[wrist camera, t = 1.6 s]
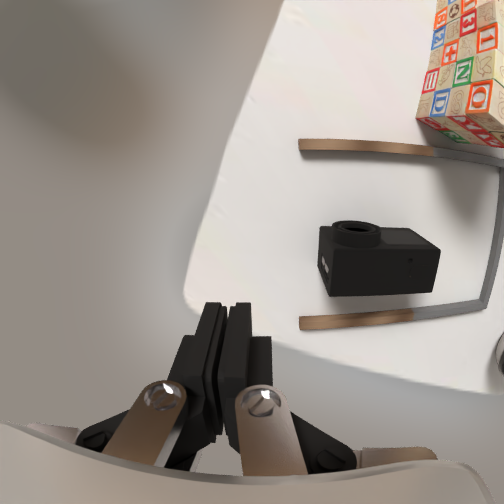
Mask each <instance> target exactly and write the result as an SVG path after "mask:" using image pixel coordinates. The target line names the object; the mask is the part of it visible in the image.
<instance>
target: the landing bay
mask: <svg viewBox="0 0 504 504" xmlns="http://www.w3.org/2000/svg"><path fill="white" fill-rule="evenodd" d="M433 157H442V158H449V159H456V160H463V161H470V162H476V163H482V164H487V165H493V166H498V167H500V181H499V195H498V205H497V214H496V222H495V229H494V235H493V241H492V247H491V252H490V257H489V262H488V266H487V271H486V275H485V279H484V283H483V287H482V291H481V294H480V298H479V299H477V300H471V301H464V302H457V303H450V304H443V305H435V306H427V307H418V308H411V310H412V311H413V312H414V317H413V320H420V319H427V318H434V317H441V316H448V315H454V314H460V313H466V312H471V311H477V310H482V309H486V308H487V305H488V301H489V298H490V295H491V291H492V287H493V284H494V280H495V276H496V272H497V267H498V263H499V258H500V254H501V249H502V243H503V238H504V159H500V158H495V157H490V156H485V155H480V154H475V153H469V152H464V151H458V150H452V149H445V148H438V147H433Z"/></svg>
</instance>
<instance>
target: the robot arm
mask: <svg viewBox="0 0 504 504" xmlns="http://www.w3.org/2000/svg"><path fill="white" fill-rule="evenodd" d="M272 381H273V378H272V344H271V336H256V337H252V318H251V303H236V306H230V311H229V316H227V307H226V306H222V305H221V302H206V304H205V307H204V309H203V312H202V315H201V318H200V321H199V324H198V327H197V330H196V333H195V335H185V336H184V337H183V339H182V342H181V344H180V347H179V349H178V352H177V355H176V357H175V360H174V363H173V365H172V368H171V370H170V373H169V376H168V379H167V380H161V381H156V382H153V383H151V384H149V385H147V386H146V387H145V388H144V389H143V390H142V391H141V393H140V394H139V396H138V398H137V399H136V401H135V402H134V404H133V405H132V407H131V408H130V409H129V410H127V411H125V412H122V413H120V414H118V415H116V416H113V417H111V418H109V419H106V420H104V421H102V422H100V423H97V424H94V425H92V426H89V427H88V428H86V429H84V430H83V431H80V429H79V428H74V427H64V426H55V425H48V424H41V423H31V424H28V425H26V426H23V425H20V424H16V423H12V422H7V421H2V420H0V504H496V502H495V500H494V498H493V496H492V494H491V492H490V490H489V488H488V487H487V485H486V483H485V482H484V480H483V478H482V477H481V476H480V475H479V473H478V472H477V471H476V470H475V469H473V468H472V467H470V466H469V465H466V464H464V463H460V462H455V461H448V460H447V461H446V460H438V459H437V456H436V454H435V453H434V452H433V451H432V450H430V449H428V448H426V447H402V448H401V447H400V448H362V450H352V449H350V448H349V447H348V446H347V445H345V444H343V443H341V442H340V441H338V440H336V439H334V438H333V437H331V436H329V435H327V434H326V433H324V432H322V431H321V430H319V429H318V428H316V427H314V426H313V425H311V424H309V423H308V422H306V421H304V420H303V419H301V418H300V417H298V416H296V415H295V414H294V413H292V412H290V410H289V406H288V403H287V399H286V397H285V395H284V394H283V393H282V392H281V391H280V390H279V389H277V388H275V387H273V382H272ZM223 424H224V426H225V431H226V435H228V439H229V445H230V446H231V447H232V448H233V449H235V450H236V451H237V452H238V453H239V454H240V456H241V464H242V471H243V476H231V475H216V474H205V473H196V472H195V471H196V469H197V466H198V464H199V461H200V458H201V456H202V448H204V447H206V446H207V445H209V444H210V443H215V441H216V435H222V431H223Z"/></svg>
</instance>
